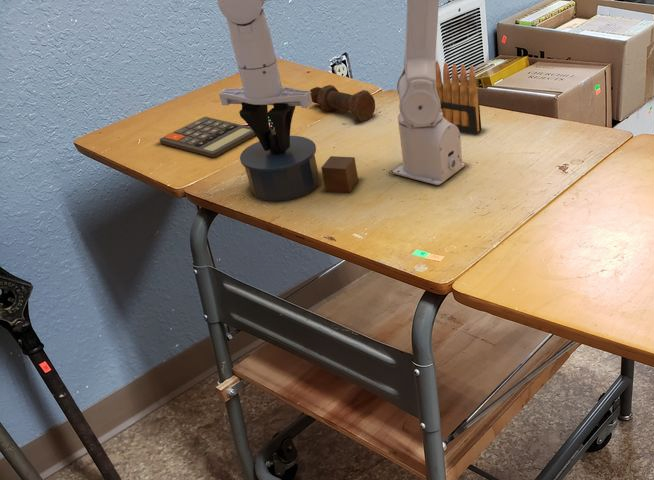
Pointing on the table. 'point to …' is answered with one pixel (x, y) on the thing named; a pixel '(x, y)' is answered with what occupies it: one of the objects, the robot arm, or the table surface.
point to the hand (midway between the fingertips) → (277, 148)
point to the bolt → (345, 101)
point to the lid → (277, 154)
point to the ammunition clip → (459, 98)
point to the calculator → (208, 136)
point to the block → (339, 174)
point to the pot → (284, 182)
